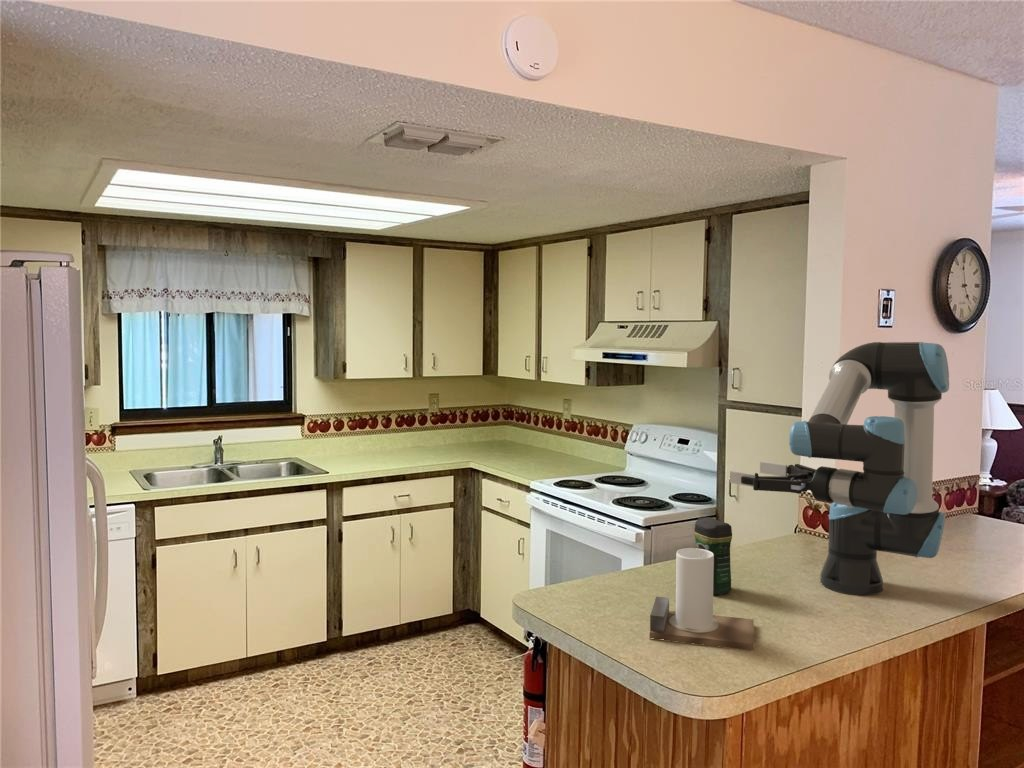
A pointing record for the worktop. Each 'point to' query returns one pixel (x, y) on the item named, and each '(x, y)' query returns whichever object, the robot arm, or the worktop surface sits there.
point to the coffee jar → (716, 550)
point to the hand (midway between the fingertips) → (745, 471)
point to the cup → (694, 588)
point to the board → (719, 634)
